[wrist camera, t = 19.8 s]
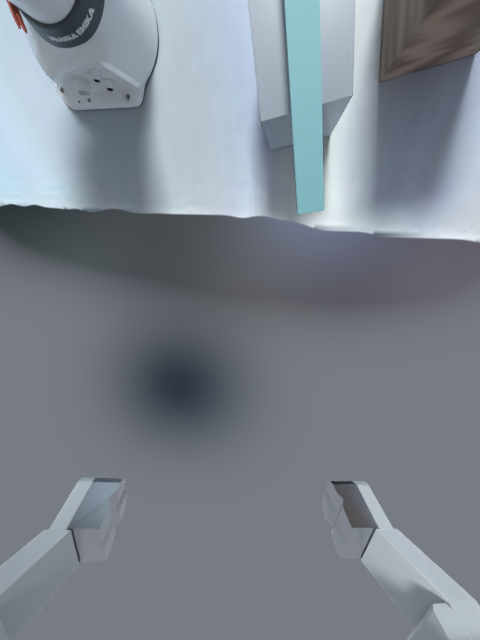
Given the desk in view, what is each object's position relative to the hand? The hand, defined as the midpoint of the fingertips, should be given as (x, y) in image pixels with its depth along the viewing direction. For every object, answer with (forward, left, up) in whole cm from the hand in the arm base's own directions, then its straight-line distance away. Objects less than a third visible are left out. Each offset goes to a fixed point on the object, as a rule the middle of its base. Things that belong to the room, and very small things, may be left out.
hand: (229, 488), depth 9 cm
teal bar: (+5, +22, -29) cm, 37 cm away
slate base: (+5, +25, -45) cm, 52 cm away
